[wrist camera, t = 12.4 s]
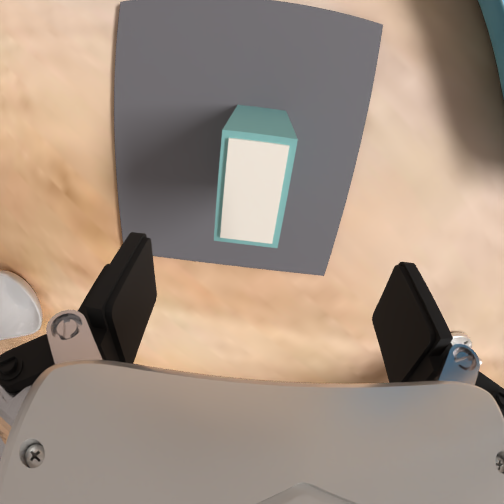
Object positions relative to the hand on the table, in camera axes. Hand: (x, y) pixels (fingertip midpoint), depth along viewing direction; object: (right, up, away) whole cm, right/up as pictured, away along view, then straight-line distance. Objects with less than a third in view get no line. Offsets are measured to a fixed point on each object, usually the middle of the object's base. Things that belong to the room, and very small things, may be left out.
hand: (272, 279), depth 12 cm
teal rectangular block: (0, +10, +14) cm, 18 cm away
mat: (-2, +11, +15) cm, 18 cm away
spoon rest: (-42, -7, +30) cm, 52 cm away
